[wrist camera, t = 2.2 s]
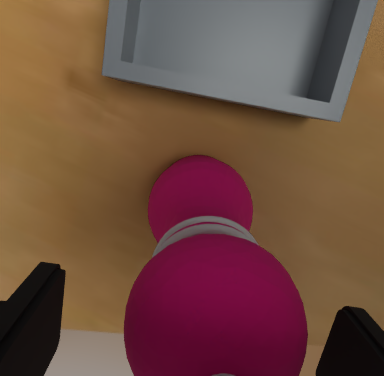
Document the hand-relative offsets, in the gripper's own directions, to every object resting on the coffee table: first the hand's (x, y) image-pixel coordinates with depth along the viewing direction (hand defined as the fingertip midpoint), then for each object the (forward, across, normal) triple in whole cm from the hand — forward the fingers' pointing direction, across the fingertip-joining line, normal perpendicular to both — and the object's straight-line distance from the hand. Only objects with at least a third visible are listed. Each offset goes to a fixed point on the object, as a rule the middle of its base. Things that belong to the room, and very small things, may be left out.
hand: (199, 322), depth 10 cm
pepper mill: (+16, -1, 0) cm, 16 cm away
